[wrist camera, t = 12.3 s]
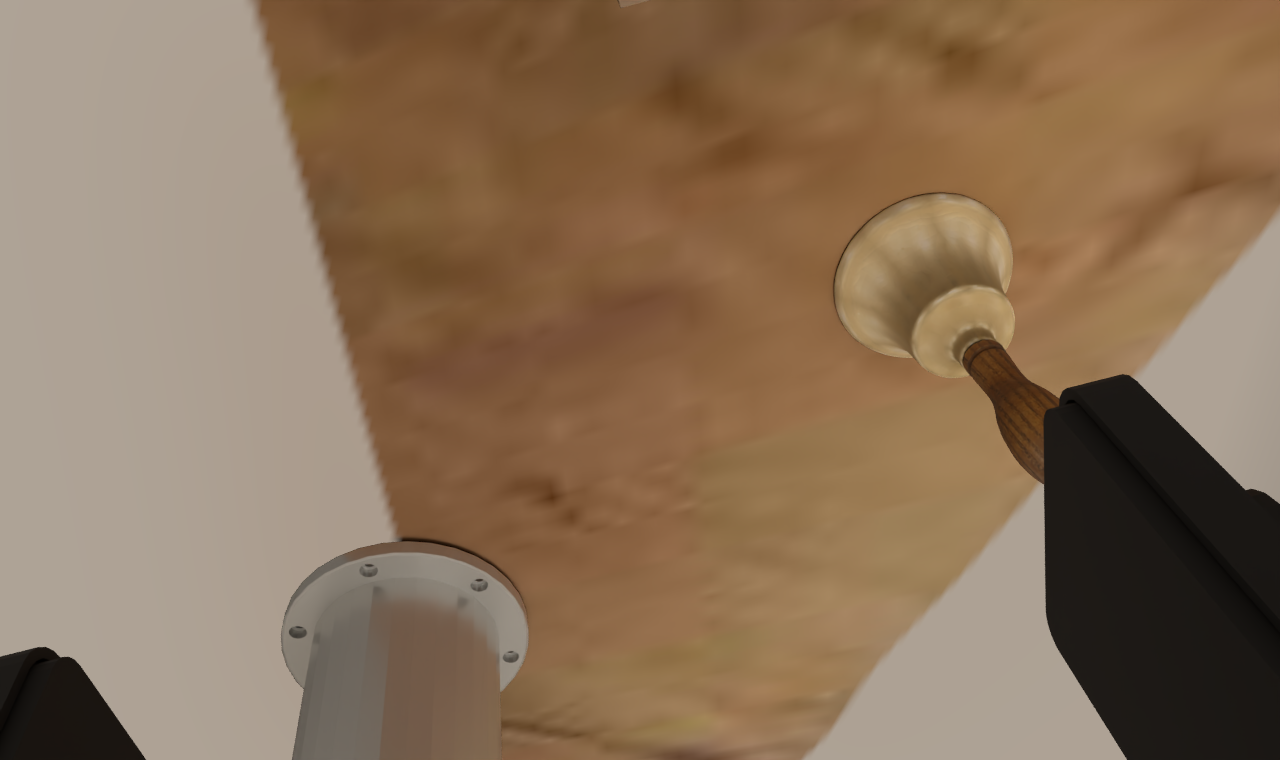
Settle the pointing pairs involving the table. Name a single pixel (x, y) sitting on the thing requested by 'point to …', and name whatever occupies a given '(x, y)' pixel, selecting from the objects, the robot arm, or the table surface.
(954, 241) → the hand bell
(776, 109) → the table surface
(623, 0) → the tan broad flat fixture
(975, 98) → the table surface
